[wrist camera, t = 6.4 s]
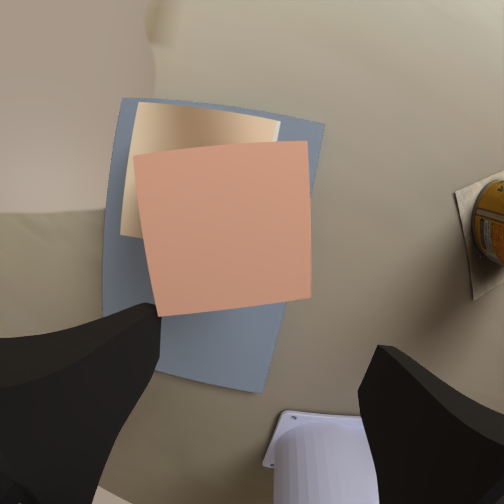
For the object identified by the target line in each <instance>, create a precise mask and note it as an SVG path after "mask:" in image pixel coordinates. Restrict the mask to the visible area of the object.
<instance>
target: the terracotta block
mask: <svg viewBox="0 0 504 504" xmlns="http://www.w3.org/2000/svg"><path fill="white" fill-rule="evenodd" d="M133 163H134V173H135V182H136V190H137V198H138V206H139V213H140V220H141V227H142V234H143V240H144V246H145V252H146V258H147V263H148V269H149V274H150V279H151V285H152V290H153V294H154V299H155V304H156V309H157V313H158V317H161V316H171V315H181V314H191V313H200V312H209V311H218V310H226V309H234V308H242V307H250V306H258V305H265V304H272V303H279V302H286V301H293V300H300V299H306V298H311V213H310V182H309V160H308V141H277V142H256V143H240V144H227V145H215V146H205V147H195V148H186V149H177V150H169V151H162V152H155V153H148V154H141V155H135V156H133Z"/></svg>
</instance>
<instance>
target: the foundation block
mask: <svg viewBox="0 0 504 504" xmlns="http://www.w3.org/2000/svg"><path fill="white" fill-rule="evenodd" d="M275 125H276V120H272V119H267V118H262V117H257V116H251V115H246V114H240V113H234V112H227V111H221V110H214V109H207V108H199V107H191V106H182V105H172V104H161V103H148V102H139V103H138V107H137V112H136V117H135V123H134V128H133V134H132V139H131V145H130V152H129V158H128V165H127V172H126V180H125V188H124V196H123V206H122V216H121V228H120V235H125V236H131V237H137V238H143V234H142V227H141V220H140V213H139V206H138V198H137V190H136V182H135V173H134V163H133V156H135V155H141V154H148V153H155V152H162V151H169V150H177V149H186V148H195V147H205V146H215V145H227V144H240V143H256V142H272V141H273V136H274V131H275Z"/></svg>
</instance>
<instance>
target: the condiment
mask: <svg viewBox="0 0 504 504" xmlns="http://www.w3.org/2000/svg"><path fill="white" fill-rule="evenodd" d="M455 193H456V197H457V202H458V207H459V212H460V217H461V221H462V227H463V233H464V237H465V243H466V248H467V254H468V257H469V266H470V275H471V283H472V288H473V299H474V301H475V300H476V299H478V298H480V297H481V296H482V295H483V294H485V293H487V292H488V291H490V290H492V289H493V288H495V287H496V286H498V285H499V284H501V283H503V282H504V171H501V172H499V173H497V174H494V175H492V176H490V177H487V178H485V179H483V180H480V181H478V182H476V183H474V184H472V185H470V186H467V187H465V188H463V189H460V190H458V191H455ZM480 256H481V258H480Z"/></svg>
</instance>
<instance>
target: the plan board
mask: <svg viewBox="0 0 504 504" xmlns="http://www.w3.org/2000/svg"><path fill="white" fill-rule="evenodd" d="M139 102H148V103H161V104H172V105H182V106H191V107H199V108H207V109H214V110H221V111H227V112H234V113H240V114H246V115H251V116H257V117H262V118H267V119H272V120H276V125H275V131H274V136H273V141H272V142H277V141H308V160H309V182H310V198H311V193H312V188H313V184H314V179H315V174H316V169H317V164H318V159H319V154H320V148H321V143H322V138H323V132H324V127H325V124H322V123H318V122H313V121H309V120H304V119H300V118H295V117H290V116H285V115H280V114H275V113H269V112H264V111H258V110H252V109H245V108H239V107H232V106H224V105H217V104H208V103H199V102H189V101H178V100H164V99H146V98H122V102H121V107H120V112H119V117H118V122H117V128H116V134H115V140H114V145H113V152H112V159H111V166H110V174H109V182H108V191H107V201H106V213H105V226H104V244H103V283H102V291H103V317H106V316H109V315H111V314H114V313H116V312H119V311H122V310H124V309H127V308H129V307H132V306H135V305H137V304H140V303H144V302H146V303H150V304H154V305H156V304H155V299H154V294H153V290H152V285H151V279H150V274H149V269H148V263H147V258H146V252H145V246H144V240H143V238H137V237H131V236H125V235H120V228H121V216H122V206H123V196H124V188H125V180H126V172H127V165H128V158H129V152H130V145H131V139H132V134H133V128H134V123H135V117H136V112H137V107H138V103H139ZM286 302H287V301H286ZM286 302H279V303H272V304H265V305H258V306H250V307H242V308H234V309H226V310H218V311H209V312H200V313H191V314H181V315H171V316H162V321H161V339H160V358H159V360H158V363H157V365H156V368H155V370H156V371H159V372H163V373H167V374H171V375H174V376H178V377H182V378H186V379H191V380H195V381H199V382H203V383H208V384H212V385H217V386H222V387H227V388H232V389H237V390H243V391H248V392H254V393H260V394H262V392H263V388H264V385H265V381H266V377H267V374H268V370H269V367H270V363H271V359H272V356H273V352H274V348H275V345H276V341H277V337H278V333H279V329H280V325H281V322H282V318H283V314H284V310H285V306H286Z"/></svg>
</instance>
